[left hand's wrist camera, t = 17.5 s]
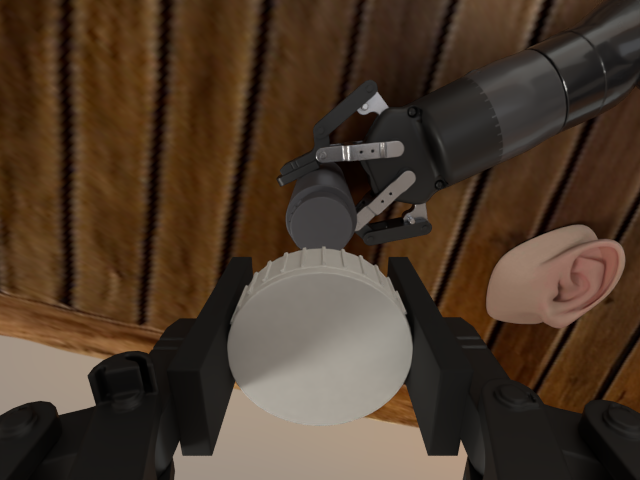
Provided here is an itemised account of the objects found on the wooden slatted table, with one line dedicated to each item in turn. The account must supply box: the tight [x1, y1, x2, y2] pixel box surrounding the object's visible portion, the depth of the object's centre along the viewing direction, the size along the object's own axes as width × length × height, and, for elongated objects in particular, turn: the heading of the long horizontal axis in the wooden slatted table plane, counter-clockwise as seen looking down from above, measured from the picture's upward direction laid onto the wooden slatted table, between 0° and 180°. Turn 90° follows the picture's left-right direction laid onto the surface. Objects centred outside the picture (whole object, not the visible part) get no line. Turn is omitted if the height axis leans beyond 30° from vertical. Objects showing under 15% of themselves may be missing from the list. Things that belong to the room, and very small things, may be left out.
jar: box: [286, 162, 357, 251], centre depth 29 cm, size 5×5×15 cm
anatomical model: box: [486, 225, 625, 328], centre depth 38 cm, size 13×4×12 cm
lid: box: [227, 246, 413, 426], centre depth 11 cm, size 6×6×2 cm
